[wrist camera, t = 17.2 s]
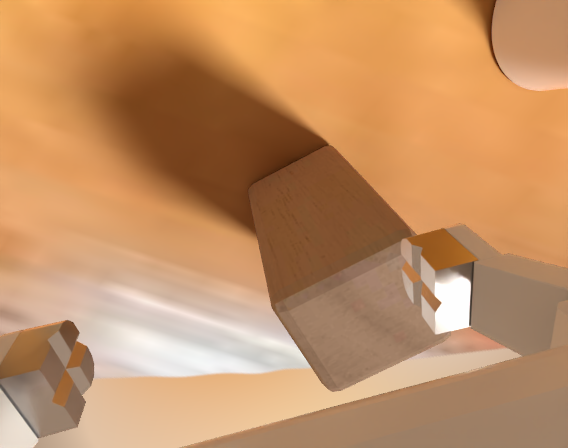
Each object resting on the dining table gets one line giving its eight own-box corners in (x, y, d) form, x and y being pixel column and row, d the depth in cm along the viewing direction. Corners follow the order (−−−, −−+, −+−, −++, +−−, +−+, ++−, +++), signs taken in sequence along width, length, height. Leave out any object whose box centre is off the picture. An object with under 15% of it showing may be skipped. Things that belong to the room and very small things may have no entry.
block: (285, 256, 47) (330, 402, 29) (243, 185, 42) (266, 307, 24) (364, 216, 46) (460, 340, 28) (330, 138, 41) (419, 230, 24)
